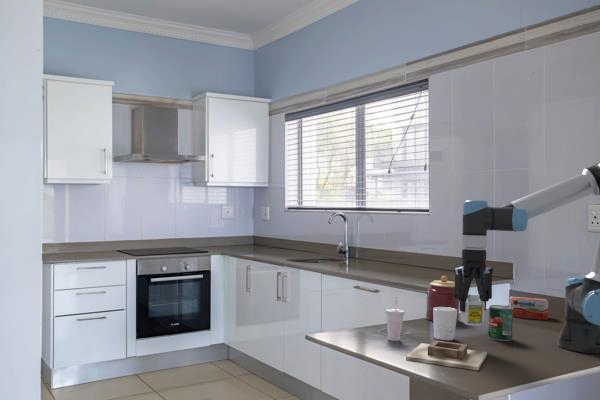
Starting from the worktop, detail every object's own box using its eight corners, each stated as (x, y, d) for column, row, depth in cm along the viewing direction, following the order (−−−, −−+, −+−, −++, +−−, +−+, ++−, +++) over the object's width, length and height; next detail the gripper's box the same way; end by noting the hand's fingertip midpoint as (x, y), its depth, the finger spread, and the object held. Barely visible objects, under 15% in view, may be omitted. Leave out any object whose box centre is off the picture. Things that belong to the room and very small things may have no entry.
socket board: (486, 355, 182) (487, 343, 182) (478, 370, 164) (478, 357, 164) (421, 346, 190) (421, 335, 190) (405, 359, 172) (406, 347, 172)
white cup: (456, 341, 200) (457, 311, 200) (432, 339, 201) (433, 309, 201) (455, 337, 207) (456, 308, 207) (431, 335, 209) (433, 306, 209)
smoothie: (405, 339, 200) (407, 297, 200) (400, 342, 194) (402, 299, 194) (387, 336, 202) (388, 295, 202) (381, 340, 196) (383, 297, 197)
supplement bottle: (475, 322, 194) (476, 292, 194) (484, 325, 189) (485, 295, 189) (460, 322, 193) (461, 292, 193) (468, 326, 188) (469, 295, 188)
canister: (462, 324, 232) (464, 278, 233) (429, 322, 233) (431, 276, 233) (454, 317, 245) (456, 274, 246) (422, 316, 246) (424, 273, 246)
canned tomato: (483, 337, 208) (485, 306, 208) (493, 335, 214) (495, 304, 214) (505, 342, 203) (507, 309, 203) (515, 339, 208) (517, 307, 209)
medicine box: (546, 317, 259) (546, 298, 259) (548, 320, 251) (549, 301, 251) (508, 314, 263) (509, 295, 263) (510, 317, 255) (511, 298, 255)
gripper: (490, 247, 198) (488, 318, 198) (442, 247, 192) (441, 320, 191) (505, 249, 191) (504, 322, 191) (457, 249, 185) (455, 325, 184)
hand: (472, 321), depth 191 cm, fingers closed on supplement bottle, 5 cm apart
